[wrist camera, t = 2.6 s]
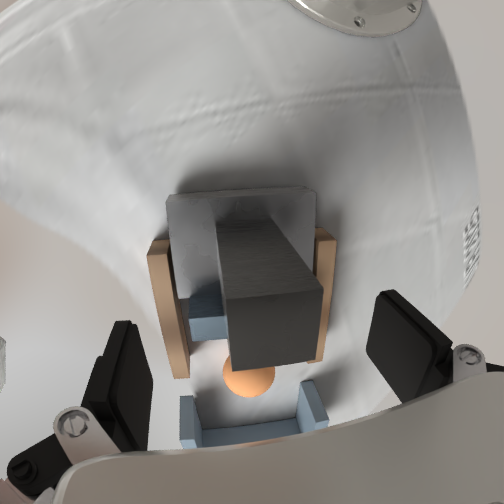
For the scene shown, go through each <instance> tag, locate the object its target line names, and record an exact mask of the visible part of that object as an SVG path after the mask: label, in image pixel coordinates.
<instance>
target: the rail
mask: <svg viewBox="0 0 504 504" xmlns="http://www.w3.org/2000/svg"><path fill="white" fill-rule="evenodd" d="M336 244H337V240H336V239H335V238H334V237H333V236H331V235H330V234H329V233H328V232H327V231H326V230H325V229H323V228H315V238H314V256H313V271H312V273H313V274H314V276H315V277H316V278H317V280H318V281H319V282H320V284H321V285H322V286H323V288H324V293H323V302H322V312H321V320H320V328H319V336H318V344H317V351H316V359H315V360H311V361H307V363H308V364H309V363H315V362H320V361H322V359H323V353H324V347H325V340H326V333H327V326H328V319H329V311H330V303H331V295H332V286H333V277H334V267H335V256H336ZM147 262H148V267H149V273H150V278H151V284H152V289H153V294H154V299H155V303H156V308H157V313H158V317H159V322H160V326H161V330H162V335H163V339H164V343H165V347H166V351H167V355H168V358H169V362H170V366H171V369H172V373H173V377H174V379H180V378H190V355H189V350H188V345H187V339H186V334H185V329H184V323H183V318H182V312H181V306H180V300H179V299H178V293H177V287H176V280H175V274H174V267H173V260H172V252H171V245H170V239H166V240H155V241H152V244H151V246H150V249H149V251H148V253H147Z"/></svg>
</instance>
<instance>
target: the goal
mask: <svg viewBox="0 0 504 504" xmlns="http://www.w3.org/2000/svg"><path fill="white" fill-rule="evenodd" d="M328 423H329V418H328V415H327V413H326V411H325V408H324V406H323V404H322V401H321V399H320V397H319V394H318V392H317V390H316V387H315V385H314V383H313V380H311V381H306V382H300V389H299V397H298V404H297V412H296V418H292V419H287V420H281V421H275V422H269V423H262V424H255V425H247V426H239V427H230V428H219V429H206V430H202V428H201V424H200V421H199V417H198V413H197V409H196V406H195V402H194V398H193V395H192V396H180V442H181V444H182V447H183V449H193V448H205V447H217V446H226V445H235V444H243V443H250V442H257V441H263V440H269V439H275V438H280V437H286V436H291V435H296V434H300V433H305V432H309V431H314V430H318V429H322V428H326V427H327V426H328Z"/></svg>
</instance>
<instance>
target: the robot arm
mask: <svg viewBox="0 0 504 504" xmlns="http://www.w3.org/2000/svg"><path fill="white" fill-rule="evenodd" d="M288 1H289V2H290V3H291V4H292V5H293V6H294V7H296V8H297V9H299V10H300V11H302V12H303V13H305V14H306V15H308V16H309V17H311V18H312V19H314V20H316V21H318V22H320V23H322V24H324V25H326V26H328V27H331V28H334V29H336V30H339V31H341V32H344V33H349V34H353V35H357V36H365V37H381V36H388V35H391V34H394V33H397V32H399V31H402V30H404V29H406V28H408V27H409V26H410V25H411V24H412V23H413V22H414V21H415V20H416V18H417V17H418V15H419V13H420V9H421V5H422V0H288ZM452 343H453V342H452V341H451V340H450V339H449V338H448V337H447V336H446V335H445V334H444V333H443V332H441V331H440V330H439V329H438V328H437V327H436V326H435V325H434V324H433V323H432V322H431V321H430V320H428V319H427V318H426V317H425V316H424V315H423V314H422V313H421V312H420V311H418V310H417V309H416V308H415V307H414V306H413V305H412V304H410V303H409V302H408V301H407V300H406V299H405V298H404V297H402V296H401V295H400V294H399V293H398V292H397V291H396V290H394V289H392V290H386V291H382V292H380V294H379V295H378V296H377V297H376V301H375V307H374V312H373V317H372V322H371V327H370V332H369V336H368V341H367V345H366V352H367V355H368V356H369V358H370V359H371V360H372V362H373V363H374V365H375V366H376V367H377V369H378V370H379V371H380V373H381V374H382V376H383V377H384V378H385V380H386V381H387V383H388V384H389V385H390V387H391V388H392V390H393V391H394V392H395V394H396V395H397V397H398V398H399V399H400V401H401V402H402V404H400V405H397V406H394V407H392V408H389V409H386V410H383V411H380V412H378V413H374V414H371V415H368V416H365V417H361V418H358V419H355V420H352V421H348V422H345V423H341V424H337V425H334V426H330V427H326V428H322V429H318V430H314V431H309V432H305V433H300V434H296V435H291V436H286V437H280V438H275V439H269V440H263V441H257V442H250V443H243V444H235V445H226V446H217V447H205V448H193V449H179V450H178V449H177V450H154V451H147V445H148V433H149V421H150V410H151V401H152V400H151V399H152V391H153V378H152V375H151V371H150V368H149V365H148V362H147V359H146V355H145V352H144V348H143V345H142V341H141V338H140V334H139V331H138V327H137V325H136V324H132V323H131V321H130V320H128V321H127V320H126V321H116V322H115V323H114V326H113V329H112V331H111V334H110V337H109V339H108V342H107V345H106V348H105V350H104V353H103V356H99V357H98V358H97V359H96V362H95V364H94V368H93V370H92V373H91V376H90V379H89V382H88V385H87V388H86V391H85V394H84V397H83V400H82V404H81V406H80V407H78V406H75V407H69V408H66V409H64V410H63V411H61V412H60V413H59V414H58V415H57V416H56V418H55V420H54V423H53V429H54V434H52V435H51V436H49V437H47V438H46V439H44V440H42V441H41V442H39V443H37V444H35V445H34V446H32V447H30V448H28V449H27V450H25V451H23V452H21V453H20V454H18V455H16V456H15V457H14V458H12V459H11V461H10V462H9V464H8V467H7V476H8V478H7V479H6V480H5V481H4V480H3V479H0V504H504V366H499V365H494V364H490V363H486V362H485V357H484V354H483V353H482V352H481V351H480V350H479V349H478V348H476V347H474V346H472V345H469V344H461V345H458V346H456V347H455V349H454V350H452V349H451V346H452Z"/></svg>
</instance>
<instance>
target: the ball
mask: <svg viewBox="0 0 504 504" xmlns="http://www.w3.org/2000/svg"><path fill="white" fill-rule="evenodd" d="M223 377H224V381H225V383H226V385H227V386H228V388H229V389H230V390H231V391H232V392H234V393H235V394H237V395H240V396H243V397H255V396H259V395H261V394H263V393H264V392H266V391H267V390H268V389H269V388H270V386H271V385H272V383H273V381H274V377H275V367H267V368H260V369H252V370H243V371H234V372H232V367H231V361H230V355H229V357H228V358H227V359H226V361H225V364H224V367H223Z"/></svg>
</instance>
